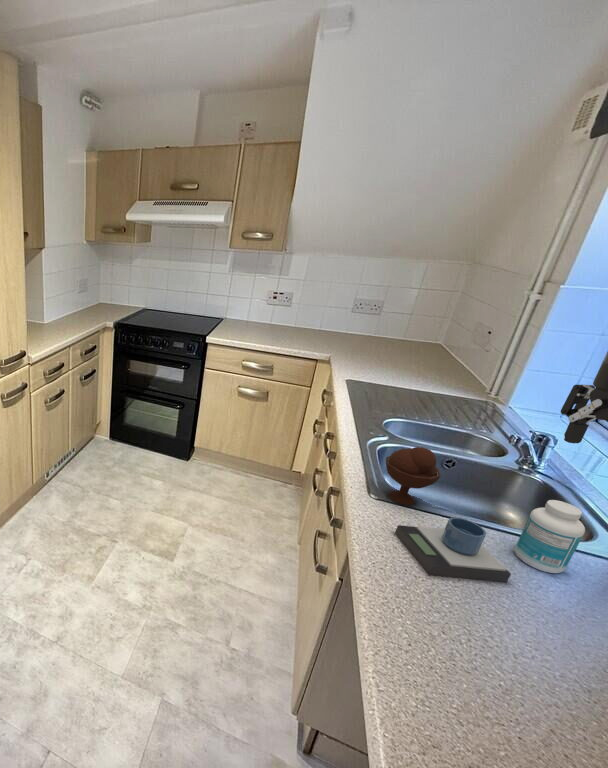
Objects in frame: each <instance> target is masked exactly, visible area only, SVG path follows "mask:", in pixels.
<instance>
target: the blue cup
mask: <svg viewBox="0 0 608 768" xmlns="http://www.w3.org/2000/svg"><path fill="white" fill-rule="evenodd" d="M444 529H445V530H444V533H443V535H442V540H443V542H444V543H445V544H446V545H447V546H448V547H449V548H450V549H452V550H454V551H456V552H458V553H461V554H464V555H474V554H477V553H478V552H479V550H480V547H481V545H482V546H483V543H484V540H485V538H486V536H487V532H486V530H485V528H483V527H482V526H481V525H479V524H477V523H476V522H473V521H472V520H468V519H466V518H463V517H456V516H455V517H454V516H453V517H450V518H449V519H448V520H447V523H446V526H445V528H444Z"/></svg>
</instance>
